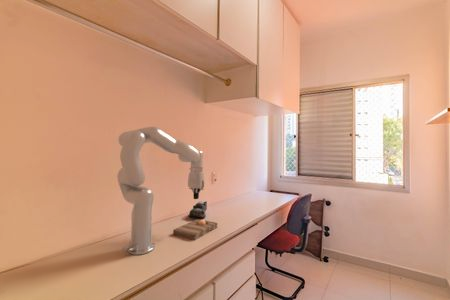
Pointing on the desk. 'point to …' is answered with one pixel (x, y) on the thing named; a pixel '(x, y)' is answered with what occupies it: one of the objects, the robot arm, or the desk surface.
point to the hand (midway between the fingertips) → (196, 198)
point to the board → (194, 229)
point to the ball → (202, 222)
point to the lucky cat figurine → (199, 209)
